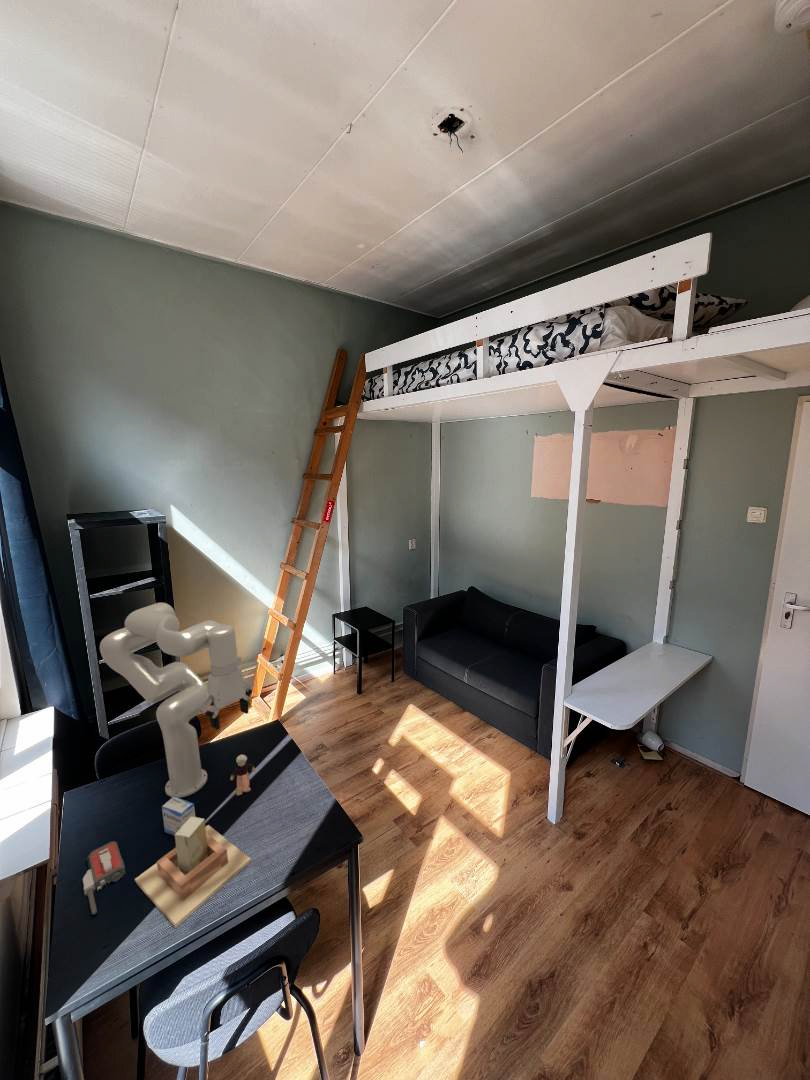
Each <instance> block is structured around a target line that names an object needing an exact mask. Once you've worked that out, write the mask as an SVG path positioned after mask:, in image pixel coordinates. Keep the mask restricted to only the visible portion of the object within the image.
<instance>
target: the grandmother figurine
mask: <svg viewBox="0 0 810 1080" xmlns="http://www.w3.org/2000/svg"><path fill="white" fill-rule="evenodd" d="M235 760H236V763H237V766H235V768H234V770H233V771H232V772H231V775H230V779H229V780H230V781H233V780H234V778H235V776H236V794H235V796H240V795H243V793H248V792H250V791H251V790H252V789H251V787H250V775H249V771H248V770H250V771H252V773H253V772H256V768H255V767H254V764H251V763H247V760H248V757H247V756H246V755H245V754H240V755H238V756H237V757H236V759H235Z"/></svg>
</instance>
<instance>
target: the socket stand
mask: <svg viewBox="0 0 810 1080" xmlns="http://www.w3.org/2000/svg"><path fill="white" fill-rule="evenodd" d="M205 829H206V837H207V846H208V855H209V857H208V858H206V859H205V860H204V861H203V862H201V863H200V864H199V865H198V866H196V867H195V868H194V869H193V870H191V871H190V872H189V873H188V874H186V875H184V874H183V873H182V872H181V871H180V870H179V866H178V858H177V850H176V847H174V848H173V849H172V850H170V851H168V852H167V853H166V854H165V855H163V856H162V857H161V858H160V859H158V860H157V861H156V863H155V864H153V865H152V866H150V867H149V868H148V869H146V870H145V871H144V872H142V873H141V874H140V875H139V876H137V877H135V878H134V882H136V883H135V884H136V885H137V886H138V887H139V888H140V889H141V890H142V892H143V893H144V894H145V896H146V897H148V898H149V899H150V901H151V902H152V903H153V904H154V906H156V908H157V909H159V911H160V912H161V913H162V914H163V916H164V917H166V918H167V920H168V921H169V922H170V923H171V924H172V926H174V928H175V929H177V928H178V927H179V926H180V925H181V924H182V923H183V922H185V921H186V920H187V919H188V918H189V917H190V916H191V915H193V914H194V912H196V911H197V910H198V909H199V908H200V907H202V906H203V905H204V904H205V903H206V902H208V900H209V899H211V898H212V897H213V896H214V895H215V894H216V893H217V892H219V891H220V890H221V889H222V888H223V887H225V885H226V884H228V883H229V882H230V881H231V880H233V878H235V876H237V875H238V874H239V873H240V872H241V871H242V870H244V869H245V868H246V867H247V866H248V865H249V864H251V862H252V859H251V857H249V856H248V855H247V854H246V853H244V852H243V851H241V849H239V848H238V847H237V846H236V845H234V844H233V843H232V842H230V841H229V840H228V839H227V838H226V837H224V836H223V835H222V834H220V833H219V832H218V831H217V830H215V828H213V827H212V826H211V825H209V824H208V825H205Z"/></svg>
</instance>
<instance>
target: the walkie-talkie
mask: <svg viewBox="0 0 810 1080" xmlns="http://www.w3.org/2000/svg"><path fill="white" fill-rule="evenodd" d="M119 848H120V847H119V845H118V842H117V841H114V840H113V841H112V840H111V841H110V842H108V843H106V844H104V845H102V846H100V847H97V848H96V849H94V850H92V851H91V852H90V854H88V856H87V857H86V861H88V862H87V865H88V869H87V871H86V873H85V874H84V876H83V878H82V883H83V892H84V896H85V895H86V894H87V895H86V897H88V902H89V903H88V904H89V908H90V911H91V912H90V913H91V915H94V916H95V915H96V914H97V912H98V911H97V905H96V902H95V896H94V892H95V891H99V889H101V890H102V887H103V886H104V885H106V883H107V882H108V883H110V882H111V881H113V882H112V883H116V882H118V881H119V880H121V878H122V877H124V876H125V875H126V866H125V862H124V859H123V858H122V855H121V852H120V849H119ZM124 874H125V875H124ZM123 875H124V876H123ZM110 884H111V883H110ZM106 886H107V885H106ZM103 888H104V887H103ZM95 889H97V890H95ZM93 890H95V891H93Z"/></svg>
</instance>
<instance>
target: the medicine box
mask: <svg viewBox="0 0 810 1080" xmlns="http://www.w3.org/2000/svg"><path fill="white" fill-rule="evenodd" d="M161 811H162V818H163V819H162V820H163V826H164V827H163V828H164V833H167V835H171V836H173V837H175V834H176V833H177V831H178V830H179V829H180V828H181V827H182V826H183V825H184V824H185V823H186V821H187V820H188V819H189V818H190V817H191V816H193V817H196V811H195V803H193V802H190V801H188V800H184V799H182V798H177V797H171V798H170V799H169V800H168V801H166V802H165V804H163V805H162V806H161Z"/></svg>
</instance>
